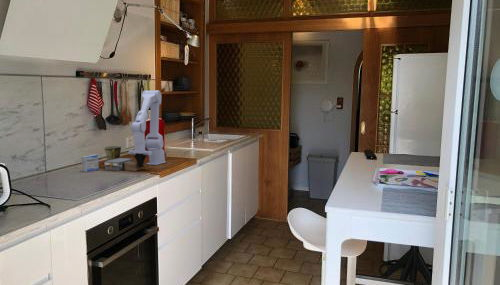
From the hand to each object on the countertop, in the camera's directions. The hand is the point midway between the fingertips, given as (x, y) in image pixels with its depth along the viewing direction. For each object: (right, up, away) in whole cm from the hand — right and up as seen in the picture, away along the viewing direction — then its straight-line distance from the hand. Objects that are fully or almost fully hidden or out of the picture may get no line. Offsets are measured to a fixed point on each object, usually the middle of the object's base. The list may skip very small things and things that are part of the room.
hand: (141, 167), depth 239 cm
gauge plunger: (-13, -1, +5) cm, 14 cm away
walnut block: (-5, -2, +2) cm, 6 cm away
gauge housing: (-14, -1, +7) cm, 16 cm away
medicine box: (-29, -2, +3) cm, 30 cm away
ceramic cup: (-23, +1, +24) cm, 33 cm away
